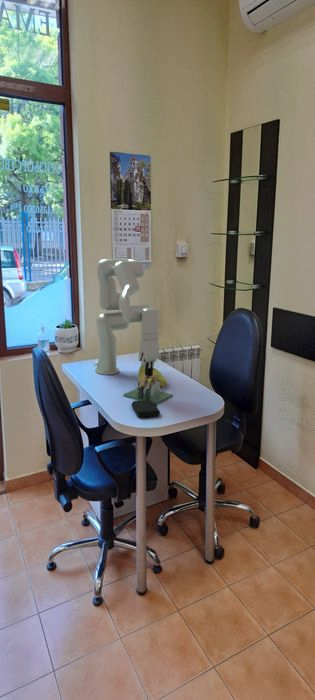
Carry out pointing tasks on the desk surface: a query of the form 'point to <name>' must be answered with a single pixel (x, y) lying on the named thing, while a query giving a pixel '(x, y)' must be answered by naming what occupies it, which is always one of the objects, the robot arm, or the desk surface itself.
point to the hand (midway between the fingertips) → (148, 375)
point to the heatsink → (148, 392)
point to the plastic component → (158, 377)
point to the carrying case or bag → (145, 408)
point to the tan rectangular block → (147, 379)
